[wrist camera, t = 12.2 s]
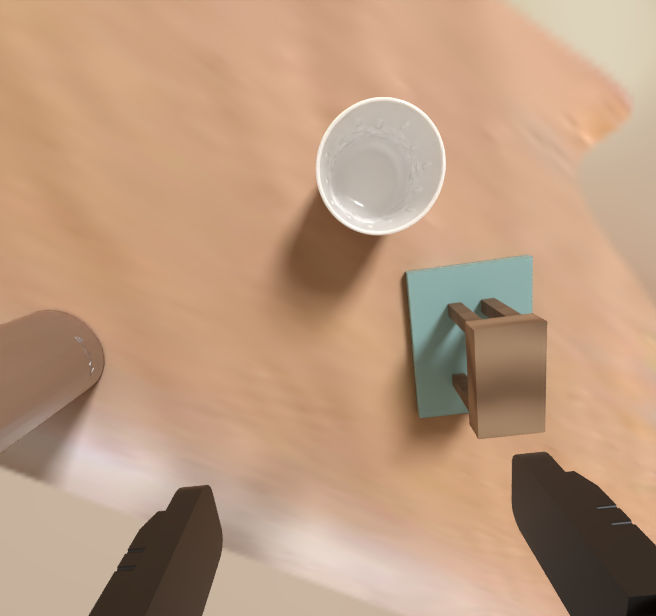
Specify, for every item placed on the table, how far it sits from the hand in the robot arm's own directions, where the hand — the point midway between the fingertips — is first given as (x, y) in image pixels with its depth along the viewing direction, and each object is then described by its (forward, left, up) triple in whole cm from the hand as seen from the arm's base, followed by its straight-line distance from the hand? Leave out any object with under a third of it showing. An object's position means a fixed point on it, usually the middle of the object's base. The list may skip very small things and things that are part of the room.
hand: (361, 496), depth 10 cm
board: (+11, -7, -26) cm, 29 cm away
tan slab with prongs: (+11, -7, -25) cm, 28 cm away
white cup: (+3, +9, -26) cm, 28 cm away
